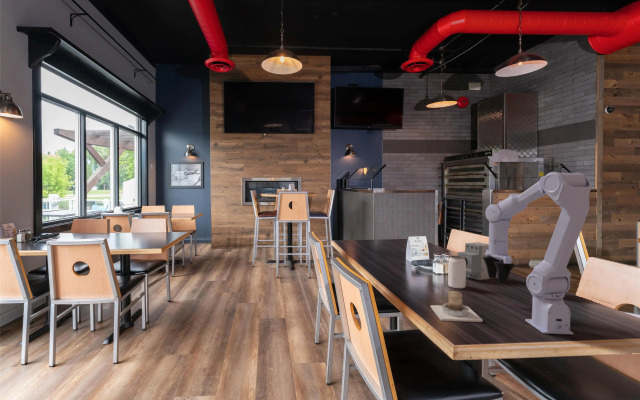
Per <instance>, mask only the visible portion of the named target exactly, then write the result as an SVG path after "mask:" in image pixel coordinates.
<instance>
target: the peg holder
mask: <svg viewBox="0 0 640 400" xmlns="http://www.w3.org/2000/svg"><path fill="white" fill-rule="evenodd" d="M430 308H431V309H432V311H433V312H434V313H435V315H436V316H437V317H438V319H439V320H440V321H443V322H444V321H445V322H469V323H470V322H474V323H477V322H478V323H483V319H482V318H481V317H480V316H479V315H478V314H477V313H476V312H474V310H472V309H471V308H470V307H469V306H467V305H465V304H462V310H452V309H449V302H446V303H443V304H442V305H433V304H432V305H430Z"/></svg>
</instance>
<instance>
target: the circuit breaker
mask: <svg viewBox="0 0 640 400" xmlns="http://www.w3.org/2000/svg"><path fill="white" fill-rule="evenodd" d="M464 247H465V248H464V251H457V256H462V257H465V261H466V276H467V277H466V278H469V277H470V279H473V280H476V281H483V279H484V280H489V279H490V278H489V276H488V271H487V267H486V264H485V262H484V260H483V257H487V255H485V253H486V250H489V243H484V242H466V243H465V244H464Z"/></svg>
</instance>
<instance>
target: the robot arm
mask: <svg viewBox="0 0 640 400" xmlns="http://www.w3.org/2000/svg"><path fill="white" fill-rule="evenodd" d="M592 187H593V184H592V182H591V181H590V180H589V178H588V176H587V175H586V174H585V173H583V172H558V171H551V172H548V173H547V174H546V175H543V176H541V177H540V179H539V181H537V182H535V184H533V185H531V186H530V187H529V188H527V189H526V190H524V191H523V192H521V193H510V194H509V195H508V197H507V198H505V199H503V200H499V201H498V203H497V204H495V203H494V204H492V203H491V204H489V205H488V206H487V207H486V209H485V217H486V219H487V221H488V222H489V224H488V244H489V250H486V253H485V255H487V257H483V260H484V262H485V264H486V267H487V271H488V276H489V279H496V278H497V281H498V284H499V285H503V284H504V285H506V284H507V282H508V280H509V277H510V273H511V271H512V269H513V268H514V267H515V263H513V262H512V257H511V256H510V254H508V250H509V249H508V248H509V228H510V225H511V221H512V220H513V218H514V216H516V215H517V214H519V213H521V212H523V211H524V210H527V207H528V205H529V203H532V202H533V201H536V200H538V199H539V198H542V197H544V196H546V195H547V196H548V197H549V198H550V199H551V200H552V201H553V202H555V203H556V205H558V207H559V208H560V209H561V211H560V214H559V217H558V220H557V222H556V225H555V228H554V230H553V233H552V236H551V237H550V241H549V243H548V247H547V250H546V252H545V255H544V257H543V259H542V260H543V261H542V262H541V263H539V264H538V265H537V266H535V267H534V269H533V271H532V273H531V272H530V273H529V274H528V275H527V276H526V281H525V282H526V283H525V284H526V288H527V289H528V291H529V293H530V295H531V296H532V299H531V300H532V305H531V306H532V307H531V308H532V309H531V318H525V322H527V323H528V324H529V325H530V326H532V327H533V328H534V329H537V330H538V331H539V332H540V333H542V334H549V335H550V334H551V335H552V334H555V335H574V332H573V331H571V310H570V307H569V306H568V305H567V304H566V303H565V301H564V298H565V297H566V295H565V294H566V293H568V292H569V291H570V288H571V276H572V272H570V270H569V269H568V268H567V266H568V264H569V262H570V259H571V256H572V255H573V251H574V249H575V246H576V244H577V241H578V239H579V236H580V234H581V232H582V229H583V226H584V224H585V222H586V219H587V217H588V214H589V212H590V193H591V190H592Z"/></svg>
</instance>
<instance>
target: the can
mask: <svg viewBox="0 0 640 400" xmlns="http://www.w3.org/2000/svg"><path fill="white" fill-rule="evenodd" d="M447 274H448V275H447V276H448V277H447V278H448V280H447V282H448V284H447V285H448V287H450V288H453V289H459V290H460V289H465V288H466V279H467V277H466V261H465V257H462V256H458V255H450V256H449V259H448V271H447Z"/></svg>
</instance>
